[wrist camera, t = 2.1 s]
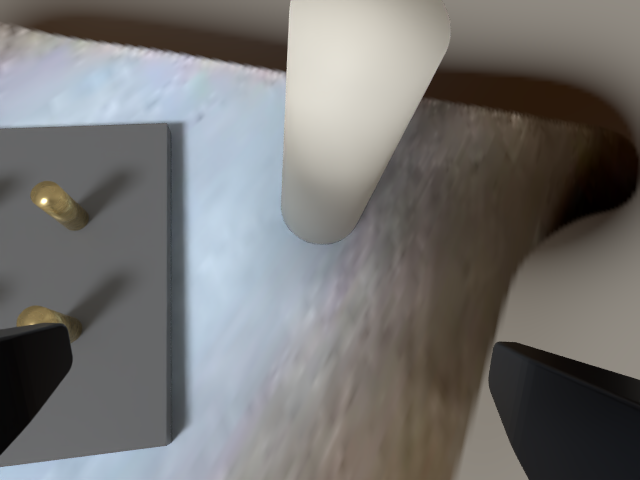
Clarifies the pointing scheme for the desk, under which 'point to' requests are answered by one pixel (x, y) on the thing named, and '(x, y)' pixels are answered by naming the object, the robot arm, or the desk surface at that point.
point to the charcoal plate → (91, 280)
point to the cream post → (351, 102)
